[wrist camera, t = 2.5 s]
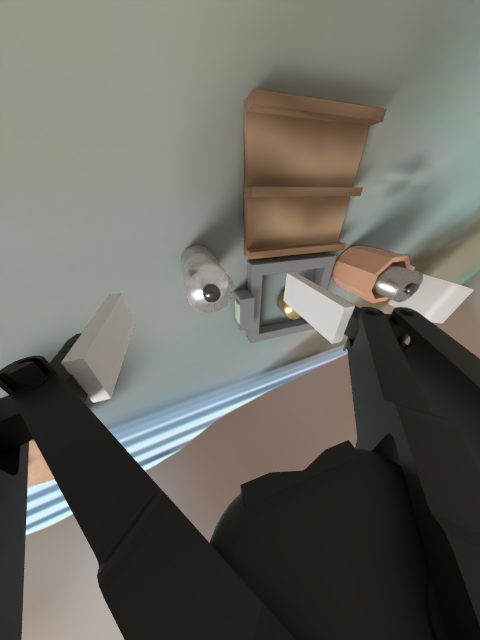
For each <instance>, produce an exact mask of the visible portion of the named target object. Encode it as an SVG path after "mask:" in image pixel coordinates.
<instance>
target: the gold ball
mask: <svg viewBox="0 0 480 640" xmlns="http://www.w3.org/2000/svg"><path fill="white" fill-rule="evenodd" d="M284 293H285V291H284V292H282V293H281V294H280V296H279V297H278V299H277V306H278V308H279V309H280V310H281V311H282V312H283V313H284V314H285V315H286V316H287V317H288V318H290V319H298V318H300V317H301V316H300V315H299V314H298V313H297V312H295V311H294V310H293V309H292V308H291V307H290V306H289V305H288V304H286V303H285V302H284V301H283V300H284Z"/></svg>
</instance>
